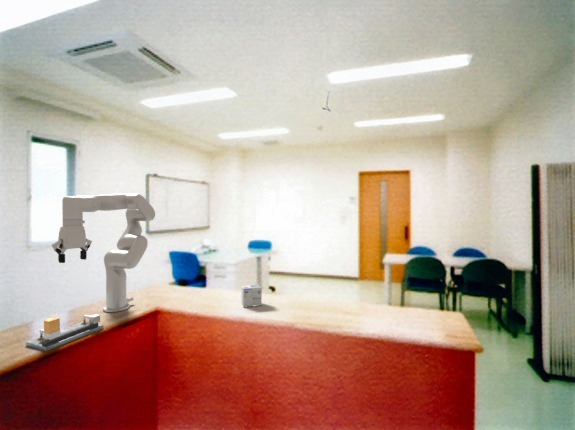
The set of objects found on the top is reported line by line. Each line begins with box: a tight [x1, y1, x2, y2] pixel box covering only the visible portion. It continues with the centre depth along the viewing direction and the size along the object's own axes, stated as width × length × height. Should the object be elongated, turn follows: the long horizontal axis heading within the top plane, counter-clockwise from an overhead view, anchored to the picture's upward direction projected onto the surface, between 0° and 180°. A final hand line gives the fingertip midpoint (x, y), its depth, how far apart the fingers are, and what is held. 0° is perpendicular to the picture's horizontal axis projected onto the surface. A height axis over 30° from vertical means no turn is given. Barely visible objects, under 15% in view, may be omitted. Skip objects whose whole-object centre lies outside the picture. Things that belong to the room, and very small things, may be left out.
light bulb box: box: [241, 284, 263, 307], centre depth 176 cm, size 11×7×11 cm, turn 108°
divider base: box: [25, 314, 104, 352], centre depth 131 cm, size 24×12×6 cm, turn 159°
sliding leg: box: [39, 316, 61, 340], centre depth 123 cm, size 4×9×8 cm, turn 69°
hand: (73, 261), depth 141 cm, fingers open, 9 cm apart
